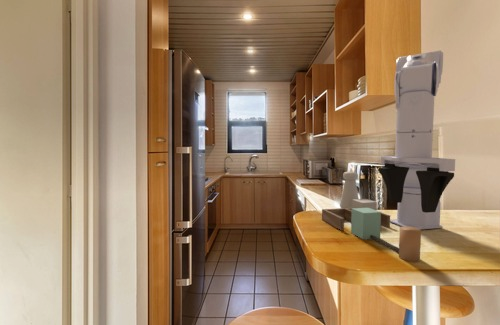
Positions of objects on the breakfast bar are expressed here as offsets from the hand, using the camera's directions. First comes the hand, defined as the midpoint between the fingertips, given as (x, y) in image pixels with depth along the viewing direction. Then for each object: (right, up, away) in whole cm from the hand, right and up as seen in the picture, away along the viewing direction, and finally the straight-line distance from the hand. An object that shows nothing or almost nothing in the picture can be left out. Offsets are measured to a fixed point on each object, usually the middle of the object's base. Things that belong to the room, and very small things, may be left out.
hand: (410, 206), depth 49 cm
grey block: (+2, -8, +24) cm, 26 cm away
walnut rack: (-1, -8, +23) cm, 24 cm away
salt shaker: (+1, -8, +34) cm, 35 cm away
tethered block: (-1, -9, +7) cm, 12 cm away
